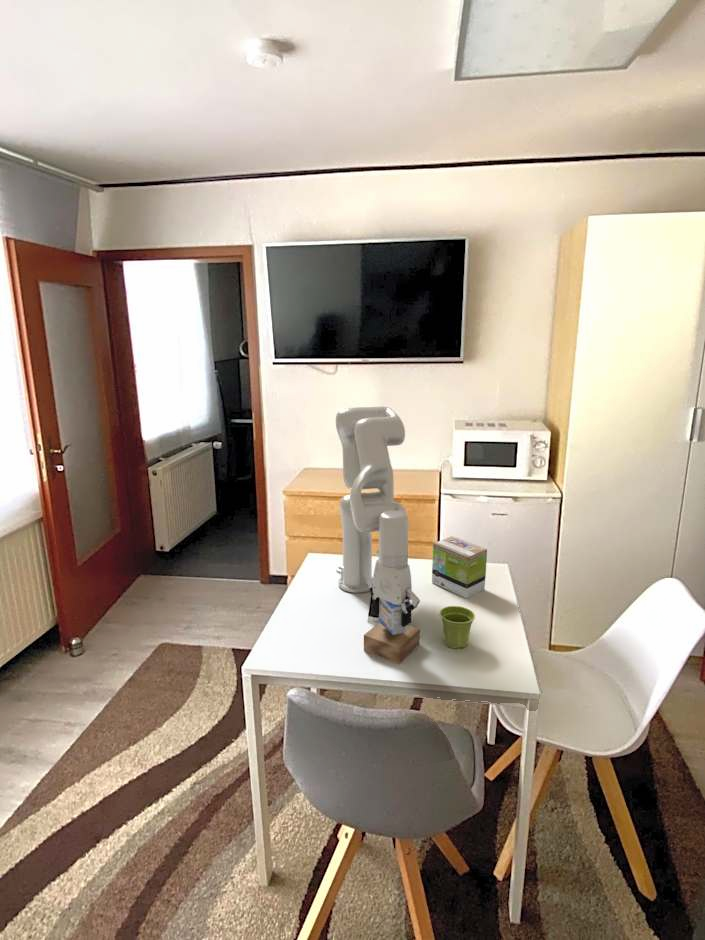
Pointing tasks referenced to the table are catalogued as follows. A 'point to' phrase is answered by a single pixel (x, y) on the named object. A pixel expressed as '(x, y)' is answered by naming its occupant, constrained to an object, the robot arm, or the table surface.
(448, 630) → the plant pot
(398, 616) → the medicine box
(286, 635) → the table surface
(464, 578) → the tea box
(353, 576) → the robot arm
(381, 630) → the walnut block
